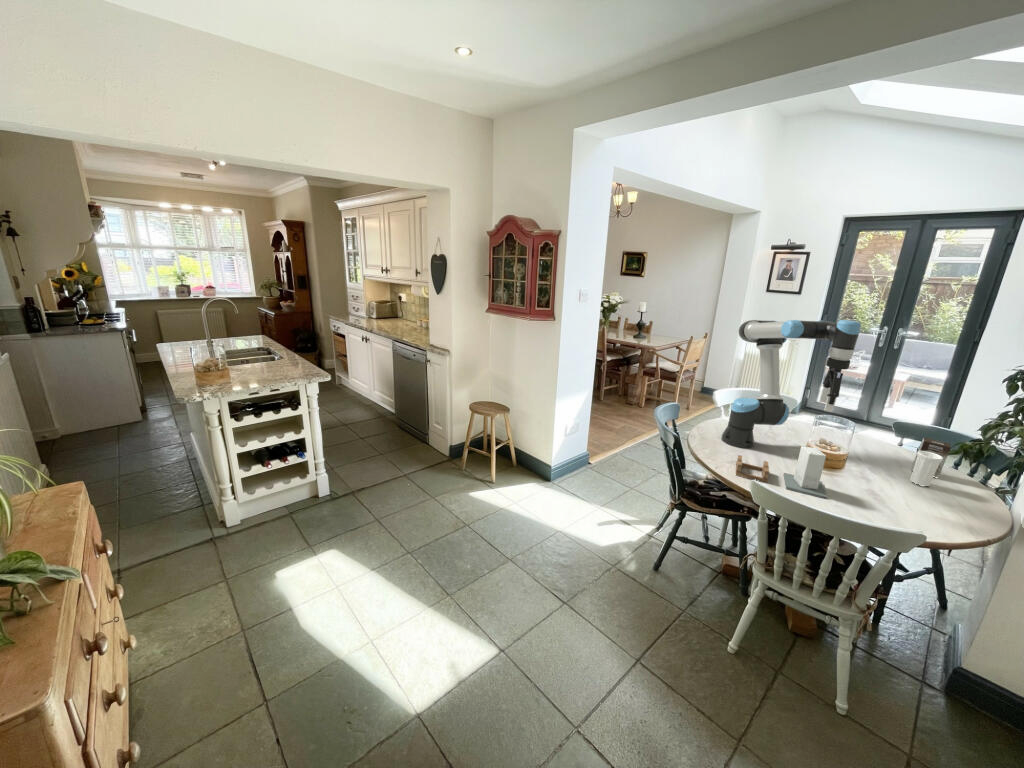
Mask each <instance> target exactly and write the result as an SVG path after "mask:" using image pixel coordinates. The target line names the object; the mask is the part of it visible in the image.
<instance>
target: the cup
mask: <svg viewBox="0 0 1024 768" xmlns="http://www.w3.org/2000/svg"><path fill="white" fill-rule="evenodd" d="M916 455H917V459H916V463H915V466H914V469H913V472H912V471H911V472H912V473H911V476H910V479H909V482H911V481H912V482H914V483H916V484H920V485H924V486H930V485H931V483H932V481H933V479H934V478H933V476H934V474H935V472H936V470H937V468H938V466H939V464H940V462H941V461H942V460H943V457H942V456H940V455H938V454H935V453H932V452H927V451H918V450H917V452H916ZM912 482H911V483H912ZM914 483H913V484H914ZM916 484H915V485H916Z"/></svg>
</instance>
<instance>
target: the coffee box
mask: <svg viewBox="0 0 1024 768" xmlns="http://www.w3.org/2000/svg"><path fill="white" fill-rule="evenodd" d="M951 449H952V445H951V443H948V442H945V441H940V440H937V439H934V438H929V437H923V438H922V441H921V443H920V445H919V447H918V450H917V452H918V451H927V452H932V453H935V454H938V455H940V456H942V457H943V460H942V461H941V462H940V464H939V466H938V468H937V470H936V472H935V474H934V476H935V477H939V478H940V475H941V473H942V470H943V468H944V465H945V463H946V460H947V458H948V455H949V453H950V451H951ZM916 459H917V454H916V456H915V458H914V460H913V463H912V465H911V467H912V470H911V472H912V471H913V469H914V466H915V463H916Z"/></svg>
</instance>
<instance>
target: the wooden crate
mask: <svg viewBox="0 0 1024 768" xmlns="http://www.w3.org/2000/svg"><path fill="white" fill-rule="evenodd" d="M742 468H746V469H751V470H755V471H758V472H761V476H757V475H754V474H751V473H746V472H743V471H742ZM735 474H736V475H735V476H737V475H738V477H741V476H743V477H742V478H745V477H747V478H746V479H749V478H750V480H753V479H756V480H755V481H757V480H759V481H758V482H762V483H765V484H767V483H768V479H769V476H770V475H769V474H770V467H769V461H766V460H764V461H763V464H762V466H757V465H753V464H750V463H745V462H743V456H742V455H740V454H738V455H737V458H736V463H735Z"/></svg>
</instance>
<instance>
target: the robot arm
mask: <svg viewBox="0 0 1024 768" xmlns="http://www.w3.org/2000/svg"><path fill="white" fill-rule="evenodd" d="M861 326H862V323H861V322H860V321H857V320H849V319H840V320H838V322H837V323H836V322H832V321H830V320H823V319H822V320H818V321H816V320H797V319H790V320H785V321H783V320H782V321H777V320H757V319H752V320H747V321H745V322H743V323H741V324H740V326H739V328H738V335H739V337H740V338H741V340H742V341H745V342H748V343H755V344H756V348H757V349H758V350H759V396H758V397H757V398H752V397H739V398H735V400H733V402H732V404H731V408H730V409H731V410H730V414H729V418H728V419H729V420H728V422H727V423H728V424H727V426H726V428H725V429H724V431H723V432H722V434H721V441H722V442H724V443H725V444H728V445H729V446H733V447H737V448H742V449H749V448H750V449H751V448H753V447H754V445H755V438H754V437H755V436H754V431H753V430H754V428H755V425H757V426H758V425H759V426H760V425H761V426H763V425H764V426H781V425H783V424H785V423H786V421H787V420H788V418H789V415H790V408H789V406H788V404H787V403H785V402H784V398H783V397H782V396H781V394H780V350H781V348H782V347H783V345H784V344H785V343H786V342H787V341H788V339H807V340H810V339H811V340H824V341H830V342H832V343H831V345H830V346H831V347H830V348H829V349H828V350H827V351H828V352H829V354H828V356H829V357H827V360H826V364H825V365H826V366H827V368H828V370H827V373H826V376H825V378H824V380H823V382H822V384H823V385H822V386H823V387H822V390H821V394H820V397H819V401H818V402H820V403H825V404H824V405H825V407H824V410H823V411H825V412H829V413H833V411H834V408H835V405H836V401H837V398H839V397H840V391H841V384H842V380H843V376H844V373H843V372H842V370H848V369H849V368H850V364H851V360H852V359H853V355H854V352H855V349H856V348H855V347H856V344H857V341H858V338H859V334H861V333H860V332H861Z"/></svg>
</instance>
